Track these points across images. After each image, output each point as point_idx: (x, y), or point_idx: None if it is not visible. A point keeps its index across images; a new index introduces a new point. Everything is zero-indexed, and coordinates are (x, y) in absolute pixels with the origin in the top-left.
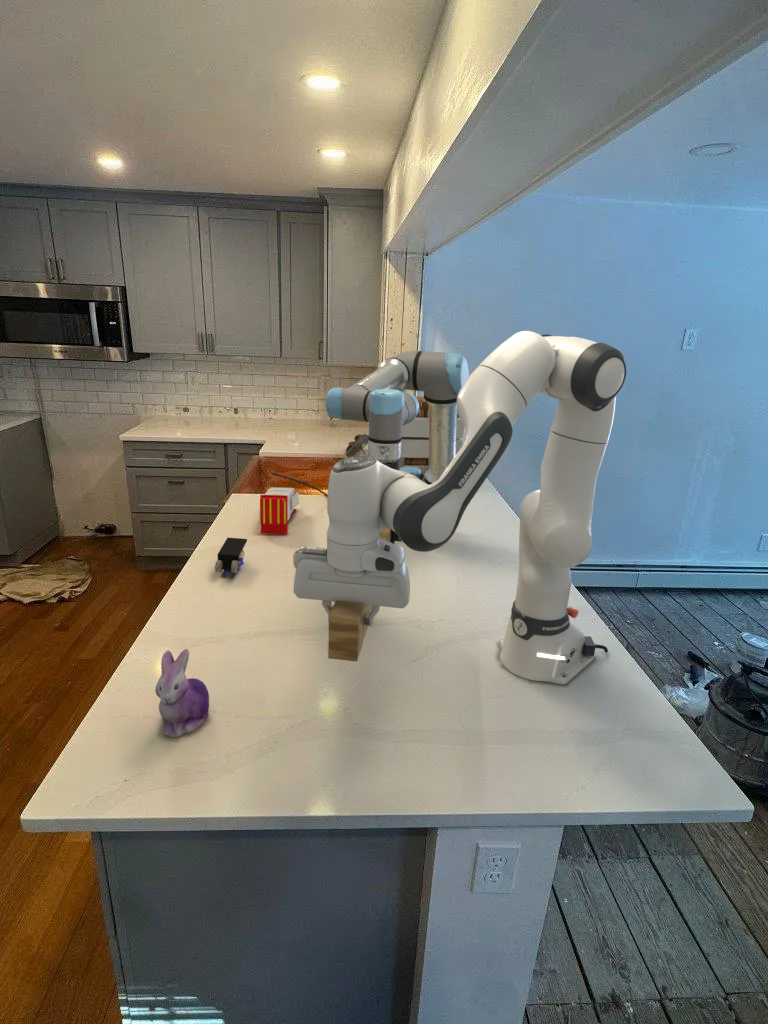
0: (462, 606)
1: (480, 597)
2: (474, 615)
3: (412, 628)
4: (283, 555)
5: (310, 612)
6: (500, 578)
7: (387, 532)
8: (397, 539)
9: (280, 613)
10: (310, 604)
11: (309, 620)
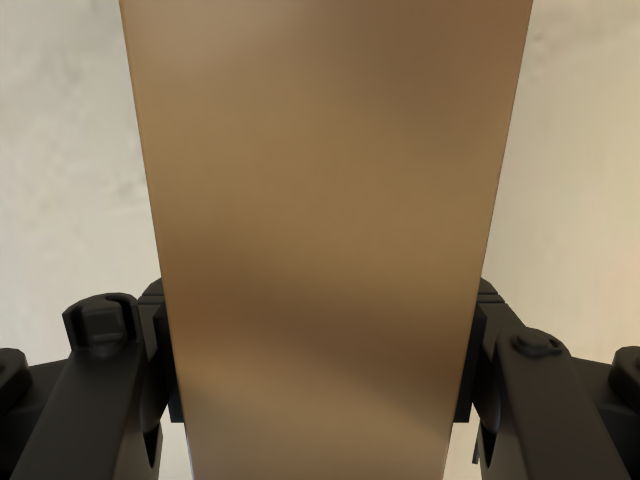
0: (78, 282)
1: (40, 338)
2: (32, 239)
3: None
4: None
5: (537, 161)
6: None
7: (143, 36)
8: (162, 284)
9: (637, 136)
10: (539, 210)
11: (539, 110)
